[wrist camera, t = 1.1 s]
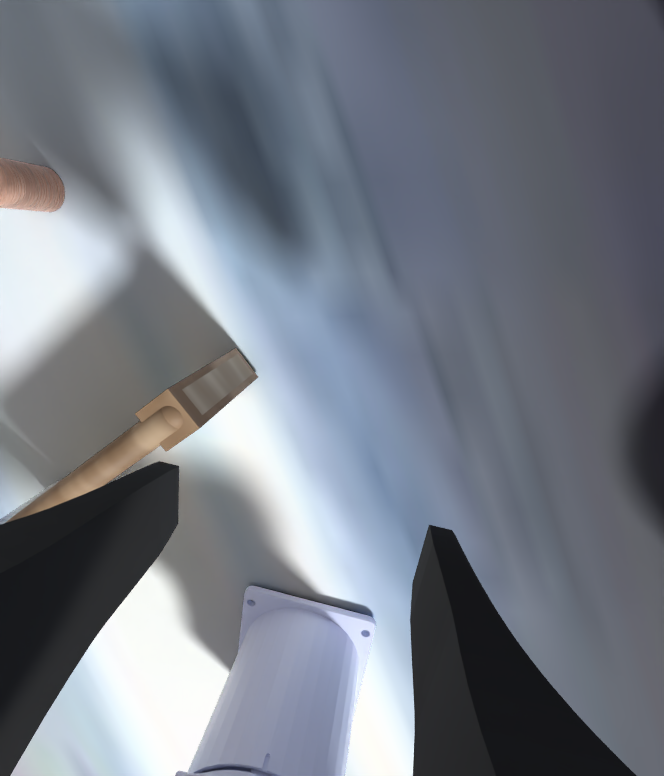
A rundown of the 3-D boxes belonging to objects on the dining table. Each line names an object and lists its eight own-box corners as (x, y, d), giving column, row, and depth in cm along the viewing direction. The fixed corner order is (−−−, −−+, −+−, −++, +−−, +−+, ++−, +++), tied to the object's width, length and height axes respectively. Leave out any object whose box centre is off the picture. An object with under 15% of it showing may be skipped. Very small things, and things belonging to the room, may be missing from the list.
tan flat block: (86, 498, 26) (-15, 578, 20) (66, 475, 26) (-44, 549, 20) (258, 377, 22) (196, 431, 15) (235, 347, 21) (163, 390, 15)
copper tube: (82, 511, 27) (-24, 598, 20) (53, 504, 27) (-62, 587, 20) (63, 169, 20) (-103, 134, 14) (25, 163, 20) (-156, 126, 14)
